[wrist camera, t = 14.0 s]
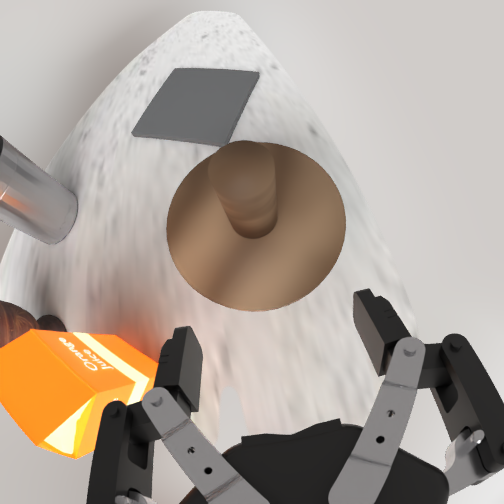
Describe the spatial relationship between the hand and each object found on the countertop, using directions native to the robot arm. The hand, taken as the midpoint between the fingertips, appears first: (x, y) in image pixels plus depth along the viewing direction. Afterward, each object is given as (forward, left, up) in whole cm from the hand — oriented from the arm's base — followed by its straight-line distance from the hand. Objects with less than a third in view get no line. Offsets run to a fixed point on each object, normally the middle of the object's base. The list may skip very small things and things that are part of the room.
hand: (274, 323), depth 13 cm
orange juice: (-15, -12, -18) cm, 26 cm away
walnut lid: (-4, +7, -7) cm, 11 cm away
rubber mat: (-21, +28, -17) cm, 39 cm away
